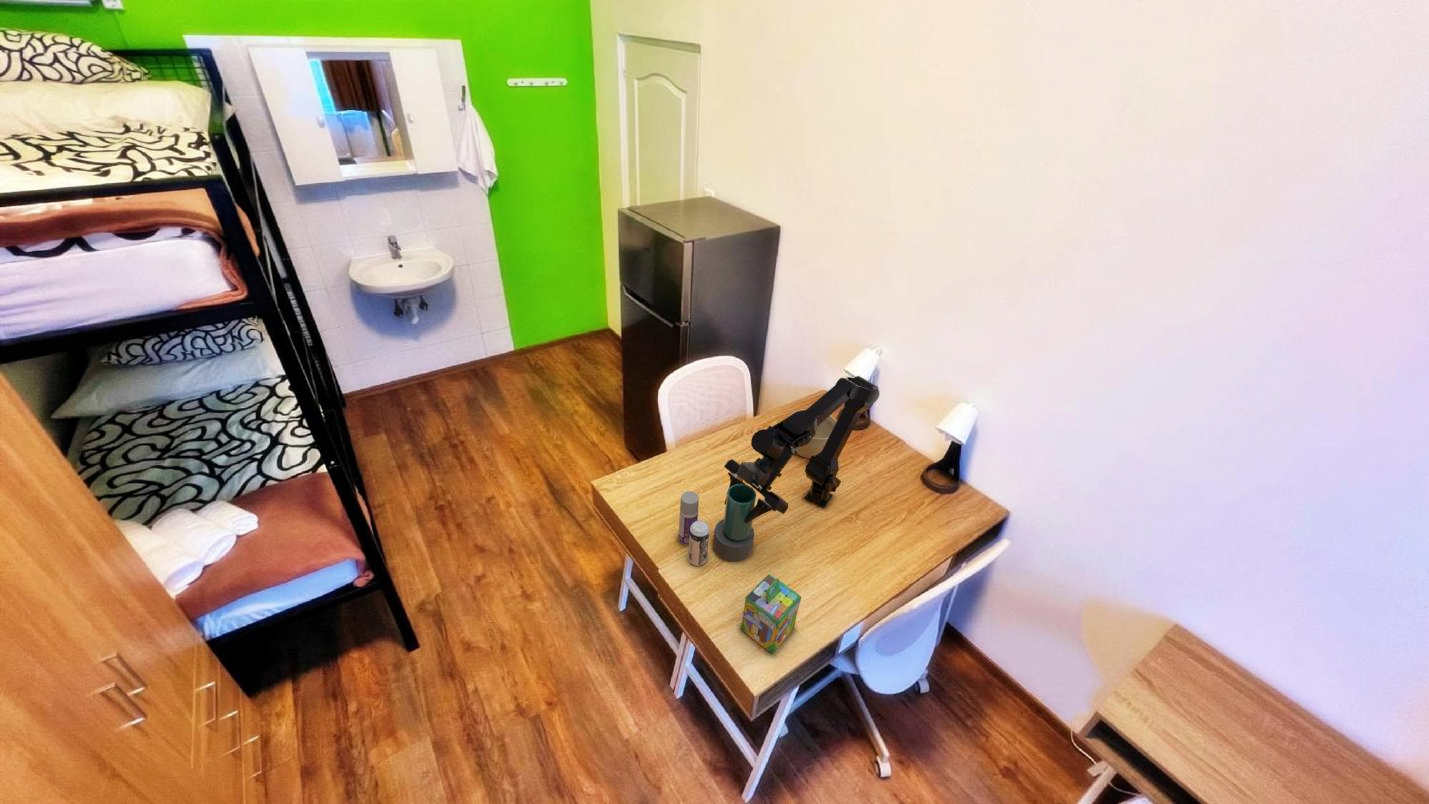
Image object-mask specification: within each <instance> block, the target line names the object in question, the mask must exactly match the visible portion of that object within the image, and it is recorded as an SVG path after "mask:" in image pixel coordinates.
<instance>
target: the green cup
mask: <svg viewBox="0 0 1429 804" xmlns="http://www.w3.org/2000/svg"><path fill="white" fill-rule="evenodd" d="M725 500H726V505H725V507H724V515H723V519H724V525H723V530H724V533H725V535H726V536H727V537H729V538H731V539H733V540H743V539H746V538H747V537H748V536H749V535H750V533H751V527H752V528H753V520H754V519H753V520H752V521H750V522H748V523H745V522H744V521H745V519H746V517H747V516H748V515H749V513H750V512H751V511H752V510H753V508H754V507H755V506H756V501H757V493H756V490H755V489H754V488H753V487H752V486H751V485H749V484H746V485H744V484H736V485H733V486H731V487H730V488H729V487H728V489H727V491H726V497H725Z"/></svg>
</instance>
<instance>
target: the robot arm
mask: <svg viewBox="0 0 1429 804" xmlns="http://www.w3.org/2000/svg"><path fill="white" fill-rule="evenodd" d="M880 394H881V393H880V389H879V386H878V385H876V384H874V382H871V381H869V380H868V379H865V378H864V377H862V376H861V375H857V376H855V377H853V376H845V377H840V378H838V380H837V381H836V382H835V384H834V385H833V386H832V387H831V388H830V389H829V390H828V391H826V392H825V393H824V394H823V395H822V396H820V397H819V398H818V399H817V400H816V401H814V402H813V403H812V404H811V405H810V406H809V407H807V408H805V409H806V410H803V409H802V410H803V411H798V410H796V411H797V412H795V411H794V412H795V413H793V412H792V413H793V414H792V413H791V414H792V415H791V414H790V415H789V416H787V417H785V418H784V419H782V420H781V421H779V422H777V423H776V424H774V425H772V426H771V425H769V426H768V427H767V428H763V429H759V430H757V431H755V432H754V434H753V435H752V437H751V440H750V444H751V445H750V446H751V447H752V449H753V450H754V451H755V452H757V453H758V454H759V455H761V456H762V457H761V458H760V457H758V458H756V460H755V461H754V462H752V461H741V463H740V462H738V461H736V460H735V459H733V458H732V459H731V458H730V459H729V460H727V461H726V462H725V464H724V466H723V467H724V468H725V470H727V471H728V472H727V475H728V476H729V481H730V482H729V487H728V489H729V488H730V487H731V486H733V485H736V484H744V485H749V486H750V487H752V488H753V489H754V490H755V491H757V492H758V493H759V494H760V495H761V496H762V497H763V498H762V499H761V498H759V497H758V498H757V500H756V501H757V502H756V504H755V507H754V508H753V510H752V511H751V512H750V513H749V515H748V516H747V517H746V519H745V521H744V522H745V523H748V522H750V521H752V520H755V519H757V518H759V517H761V516H763V515H765V514H767V513H769V512H772V511H773V512H776V511H777V512H779V513H781V514H783V515H785V513H786V512H787V510H789V502H788V501H786V500H785V499H784V498H783V497H782V496H780V495H779V494H777V493H776V492H774V491H771V490H772V489H773V487H772V484H773V483H774V481H776V479H777V478H780V477H782V476H783V474H782V473H781V472H782V471H783V469H784V468H785V467H786V466H787V464H788V463H789V461H791V459H792V457H793V456H794V457H797V456H799V455H798V452H797V448H798V447H803V446H805V445H807V444H808V443H809V442H810V441H811V439H812V438H813V437H814V436H815V435H816V431H817V427H818V426H819V425H820V424H821V423H822V422H823V421H824V420H825V419H826V418H828V417H829V416H832V414H834V413H835V412H836V411H837V410H838V409H840V407H842V406H843V408H842V410H841V412H840V414H839V416H838V418H837V420H836V421H837V422H836V424H835V426H834V428H833V430H832V432H831V434H830V436H829V438H828V440H827V442H826V444H825V446H824V447H823V449H822V451H821V452H820V453H818V454H816V455H815V456H814V455H813V456H811V457H810V458H809V460H808V462H807V463H806V465H805V467H804V473H805V476H806V478H807V479H809V480H810V481H811V485H810V489H809V491H808V492H807V493H806V495H805V496H804V500H805V501H807V502H809V503H811V504H814V505H816V506H818V507H821V508H822V509H825V508H826V507H827V505H828V504H829V502H830V501H831V500H832V498H833V496H834V495H833V494H832V493H835V492H836V491H837V489H838V488H839V486H840V485H841V482H842V480H840V478H838V477H837V475H838V472H839V457H840V455H841V454H842V452H843V450H844V448H845V446H846V444H847V442H848V440H849V438H850V437H851V434H852V432H853V431H854V428H855V426H856V425H857V423H858V421H859V419H860V417H861V415H862V414H863V413H865V412H866V411H868V410H870V409H871V408H872V407H873V406H874V404H875V403H876V402H877V401H878V399H879V397H880ZM724 500H725V501H724V503H723V504H724V505H725V506H726V499H724ZM752 522H753V521H752Z"/></svg>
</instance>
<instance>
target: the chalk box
mask: <svg viewBox="0 0 1429 804" xmlns="http://www.w3.org/2000/svg"><path fill="white" fill-rule="evenodd" d="M779 579H780V578H778V577H777V578H776V577H775V576H773V575H771V574H769V573H768V574H767V575H765V577H764V578H763V579H762V580H761V581H760V582H759V583H758V584H757V585H756V586H755V587H754V588H753V589H752V590H751V591H750V592H749V593H748V594H747V595H746V596H745V600H744V607H743V613H742V621H741V625H740V626H741V627H740V630H741V631H742V632H744V633H745V635H747V636H749V637H750V639H752V640H753V641H754V642H756V643H757V644H758V645H760V646H761V647H762V648H764V649H765V650H767V651H768V652H769V653H770V654H772V655H773V654H774V653H775V652H776V651H777V649H778V648H779V647H780V646H781V645H782V643H784V641H785V640H786V639H787V638H788V636H789V635H790V634H791V632H792V631H793V630H794V628H795V624H796V620H797V616H798V613H799V609H800V604H801V600H802V596H801V595H800V594H799V593H798V592H796V591H795V590H794V589H792V588H790V586H788V585H787V584H785V583H784V582H783V581H781V580H779Z"/></svg>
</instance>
